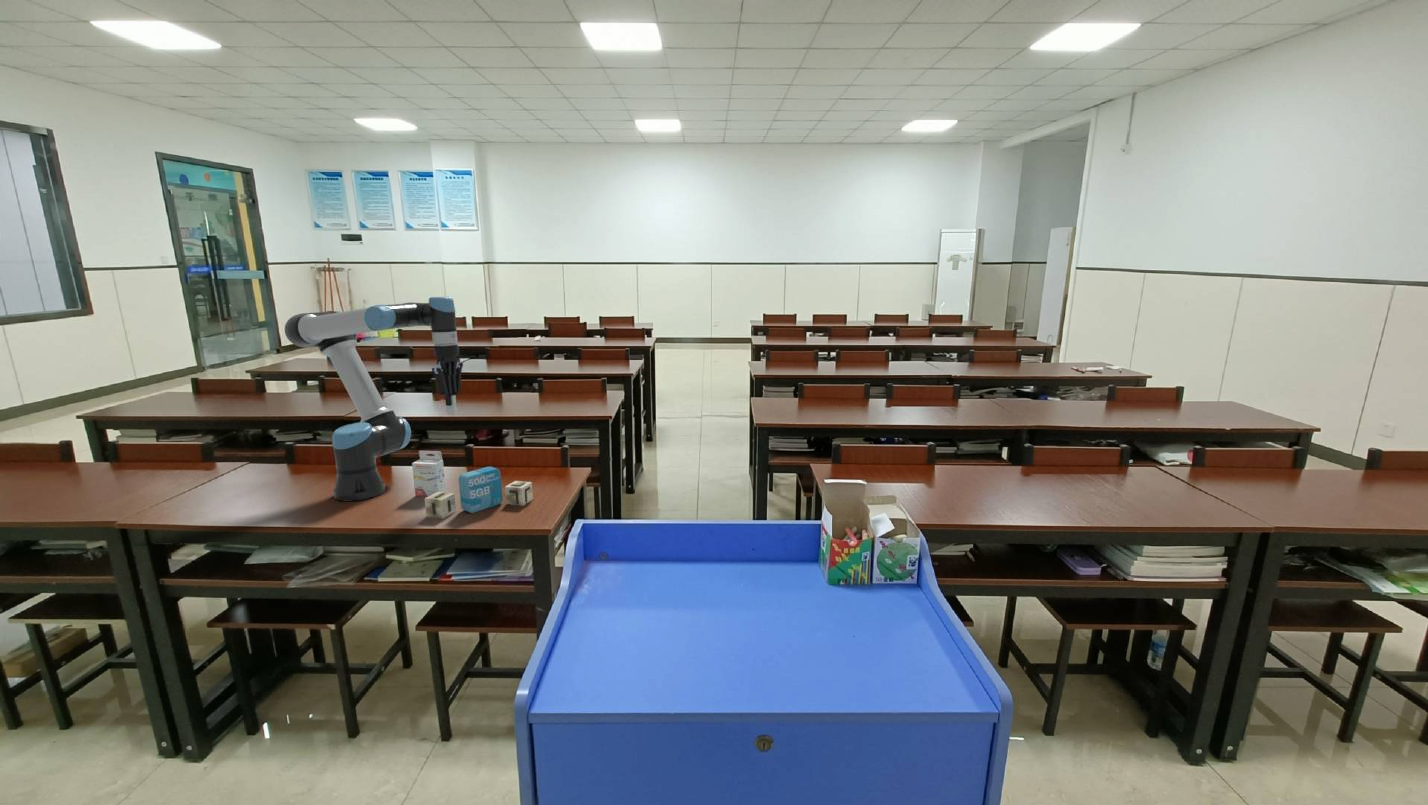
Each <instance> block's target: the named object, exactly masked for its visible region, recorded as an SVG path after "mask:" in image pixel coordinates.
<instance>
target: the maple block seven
mask: <svg viewBox="0 0 1428 805" xmlns="http://www.w3.org/2000/svg"><path fill="white" fill-rule="evenodd" d="M504 488H505V489H504V490H505V502H506V503H505V504H506V505H508V504H510V505H511V506H518V507H519V506H520V507H522V506H523V507H524V506H525V505H527V504H528V503H531V501H533V500H532V499H534V495H533V482H532V481H522V480H514V481H513V482H511V483H509V484H507V485H506V486H505V487H504ZM526 503H527V504H526Z"/></svg>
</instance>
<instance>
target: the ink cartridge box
mask: <svg viewBox="0 0 1428 805" xmlns="http://www.w3.org/2000/svg"><path fill="white" fill-rule="evenodd" d="M418 455H419V459H417V460H415V461H414V462H412V463H411V466H412V475H413V486H414V495H415V497H425V498H427V497H429V496H431V495H433V494H435V493H437V492H445V493H447V488H446V478H445V471H444V469H445V468H444V460H443V456H442V452H441V451H440V450H439V451H438V450H418Z"/></svg>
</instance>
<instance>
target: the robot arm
mask: <svg viewBox="0 0 1428 805" xmlns="http://www.w3.org/2000/svg"><path fill="white" fill-rule="evenodd" d="M456 318H457V317H456V307H455V301H454V299H453V297H452V296H432V297H429V298H428V302H412V301H410V302H404V303H403V302H402V303H396V304H378V305H371V306H370V307H363V308H358V309H351V310H347V311H346V310H345V311H340V310H339V311H335V310H328V311H320V312H319V311H317V312H305V313H303V312H302V313H298V314H295V315H293V316H291V317H290V318H288V319H287V321H286V323H285V324H284V334H285V337H286V338H287V340H288V341H289V342H290V343H292V344H293V345H294V346H297V347H299V348H303V349H304V348H308V349H310V348H311V349H312V348H318V349H319V351H320V353H321V355H322V356H325V357H328V358H329V360H330V362H331V363H332V365H333V366H334V369H335V371H336V373H337V376H339V378H340V381H341V382H342V384H343V386H344V388H345V390H346V392H347V394H348V395H349V397H350V399H351V401H352V403H353V405H354V407H355V408H356V410H357V412H358V414H359V417H360V418H361V419H360V421H359V422H353V423H348V424H345V425H342V426H339V427H338V428H337V429H335V430H334V431H333V432H332V442H331V444H332V448H333V454H334V461H335V468H336V479H335V484H334V488H333V498H335V499H334V500H336V499H337V500H336V501H339V500H345V501H344V502H350V501H349V500H357V501H362V500H367V499H371V498H370V497H372V498H374V497H377V496H379V494H380V495H382V494H383V493H384V492H385V491H386V486H385V481H384V480H383V479H382V477H381V475H380V473H379V471H378V468H377V460H376V459H377V458H380V457H382V456H385V455H388V454H391V453H396V452H398V451H399V450H401V449H404V448H405V447H406V446H407V445H408V444H409V443H410V440H411V438H412V437H411V436H412V430H411V426H410V424H409V422H408V421H407V419H406V418H403V417H402V416H397V415H396V414H395V412H394V410H393V409H391V408H387V406H386V404H385V402H384V400H383V398H382V397H381V395H380V392H379V391H378V389H377V387H376V384H375V382H374V381H373V380H372V377H371V375H370V373H369V371H368V370H367V368H366V366H365V364H364V362H363V361H362V359H361V356H360V355H359V353H358V351H357V349H356V346H357V344H358V341H357V339H358V335H359V334H366V333H371V332H380V331H386V330H393V329H400V328H401V329H402V328H411V327H431V337H432V344H433V355H434V357H435V358H436V359H437V360H436V365H435V367H432V368H431V371H432V373H433V375H434V377H435V381H436V385H437V388H438V391H439V392H438V393H439V394H440V396H442V397H444V400H445V406H446V412H447V413H446V414H447V415H448V416H457V415H458V409H457V408H458V407H457V406H458V405H457V403H458V399H457V396H459V395H460V392H461V387H462V386H461V385H462V372H463V371H462V370H463V368H464V367H463V365H464V363H463V362H459V360H458V358H457V357H458V356H460V352H459V345H458V344H457V343H459V342H458V341H459V340H458V332H457V320H456ZM346 500H347V501H346Z"/></svg>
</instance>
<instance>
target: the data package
mask: <svg viewBox="0 0 1428 805" xmlns="http://www.w3.org/2000/svg"><path fill="white" fill-rule="evenodd" d="M501 474H502V473H501V471H500V469H498V468H496V467H493V466H486V467H481V468H479V469H478V468H477V469H474V470H471V471H468V472H463V473H461V474H460V475H459V476H458V487H459V498H460V507H461V508H460V509H462V510H463V511H465V512H468V513H470V514H475V513H477V512H480V511H483V510H487V509H491V508H493V507H496V506H498V505H500V504H501V503H502V502H503V500H504V499H503V496H504V495H503V487H502V484H503V483H502V476H501ZM486 508H487V509H486Z"/></svg>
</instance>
